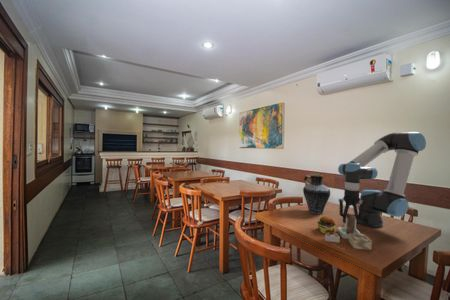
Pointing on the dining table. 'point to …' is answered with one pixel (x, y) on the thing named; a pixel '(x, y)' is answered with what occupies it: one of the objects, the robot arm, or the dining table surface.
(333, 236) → the rail
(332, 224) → the cheeseburger
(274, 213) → the dining table surface
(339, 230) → the tray
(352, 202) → the robot arm
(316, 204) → the jug
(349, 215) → the dowel
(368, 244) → the jig block
